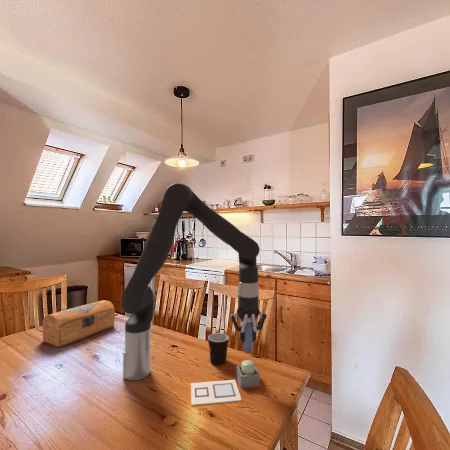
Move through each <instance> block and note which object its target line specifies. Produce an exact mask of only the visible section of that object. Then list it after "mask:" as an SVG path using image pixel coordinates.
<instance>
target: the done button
mask: <svg viewBox="0 0 450 450" xmlns="http://www.w3.org/2000/svg"><path fill="white" fill-rule="evenodd" d="M254 364H255V362H254V361H253V360H249V359H246V360H242V361H241V365H242V375H250V374H254Z"/></svg>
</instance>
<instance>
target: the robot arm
mask: <svg viewBox="0 0 450 450" xmlns="http://www.w3.org/2000/svg"><path fill="white" fill-rule="evenodd" d="M184 212H187V213H189V214H190V215H191V216H193V217H195V218H196V219H197V220H198V221H199V222H200V223H201V224H202V225H203V226H204V227H205V228H206V229H207V230H208V231H209V232H211V234H213V235H214V236H215V237H216V238H218V239H220V240H221V241H222V242H223V243H225V244H227V245H228V246H230V248H232V249H233V250H235V252H236V253H238V263H239V264H238V265H239V267H238V268H239V269H238V284H237V285H238V286H237V287H238V288H237V309H236V312H234V313H230V314H229V316H230V320H231V321H232V324H233V326H234V329H235V330H236V331H237V332H239V339H240V342H242V343H243V344H244V343H245V332H244V330H245V326H246V321H247V318H250V317H251V318H252V326H253V343H255V341H257V332H258V331H261V330H262V328H264V327H263V326H264V324H265V321H266V319H267V318H268V317H267V316H268V315H267V314H266V313H265V312H263V311H261V310H260V308H259V307H260V303H259V302H260V301H259V300H260V297H259V296H260V293H259V291H260V290H259V289H260V288H259V268H258V266H257V257H258V255H260V246H259V243H258V242H257V241H255V240H254V239H253V238H252V237H250V236H248V235H247V234H245V233H244V232H242V231H241V230H240V229H238V227H237V226H235V225H234V224H233V223H232V222H230V221H229V220H227V219H226V218H224V217H223V216H222V215H221V214H219V213H218V212H216V211H215V210H213V209H212V208H211V207H209V206H208V205H207V204H205V202H204V201H202V200H201V199H200V198H199V196H197V195H196V194H195V192H194V191H193V190H192V188H191V187H189V186H188V185H186V184H184V183H183V184H182V183H178V182H176V183H172V184H170V185H169V186H167V188H166V189H165V191H164V194H163V198H162V201H161V204H160V208H159V212H158V215H157V218H156V219H155V221H154V224H153V226H152V228H151V230H150V233H149V234H148V237H147V239H146V242H145V244H144V246H143V249H142V252H141V255H140V256H139V259H138V262H137V263H136V266H135V269H134V272H133V274H132V276H131V277H130V280H129V281H128V283H127V285H126V286H125V288H124V290H123V292H122V295H121V298H120V306H121V309H122V311H123V312H124V313H125V314H129V315H130V316H129V318H128V319H127V320H126V321H125V323H124V324H125V325H124V333H125V334H124V351H123V353H122V355H123V356H122V357H123V359H122V379H123V380H128V381H133V382H134V381H139V380H140V381H141V380H144V379H145V378H146V377H148V376H149V375H150V373H151V337H152V336H151V328H152V324H151V323H152V321H153V318H154V305H155V303H154V302H155V296H154V292H153V289H152V288H151V287H150V286H149V285H150V283H151V281H152V280H153V279H154V277H155V276H156V275H157V274H158V272H159V271H160V270H161V268H162V267H163V266H164V265H165V263H166V261H167V259H168V257H169V255H170V252H171V250H172V247H173V244H174V240H175V235H176V229H177V225H178V223H179V220H180V219H181V216H182V215H183V213H184ZM258 317H259V319H258V321H257V322H256V320H257V318H258ZM238 318H239V319H240V325H239V324H238V323H237V319H238Z"/></svg>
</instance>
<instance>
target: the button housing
mask: <svg viewBox="0 0 450 450" xmlns="http://www.w3.org/2000/svg"><path fill="white" fill-rule="evenodd" d="M236 379H237V382H238V384H239V388H240V389H245V388H258V387H260V386H261V374H260V373H259V370H258V367H257V366H256V364H255V363H254V374H250V375H242V364H240V365H236Z"/></svg>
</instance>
